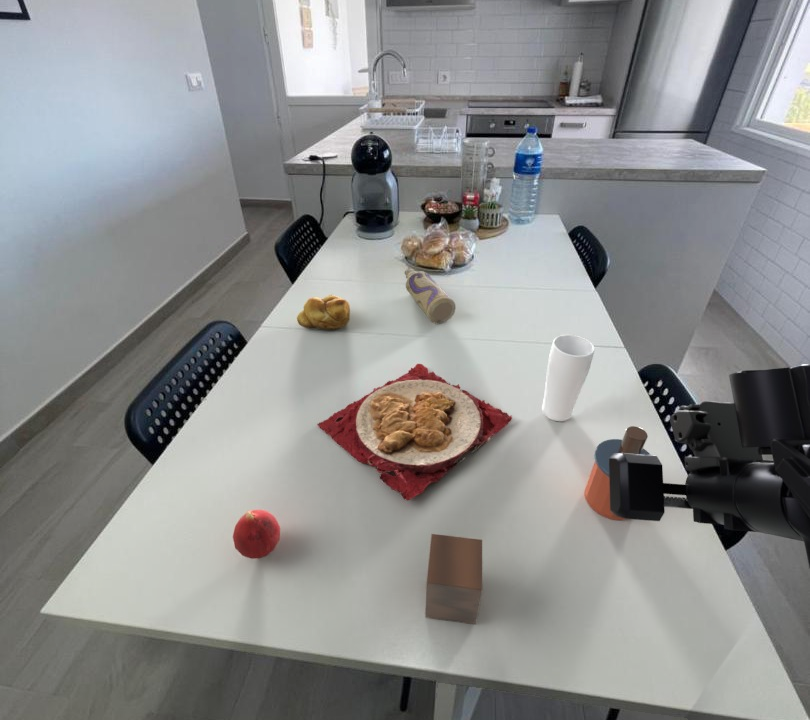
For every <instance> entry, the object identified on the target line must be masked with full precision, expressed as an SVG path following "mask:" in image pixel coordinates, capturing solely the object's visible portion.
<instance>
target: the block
mask: <svg viewBox="0 0 810 720" xmlns="http://www.w3.org/2000/svg"><path fill="white" fill-rule="evenodd" d="M429 545H430V546H429V556H428V565H427V574H426V587H425V589H426V590H425V612H424V615H425V616H424V618H427V619H434V620H441V621H448V622H455V623H463V624H470V625H477V620H478V615H479V611H480V603H481V598H482V594H483V539H479V538H471V537H462V536H453V535H445V534H437V533H431V534H430V544H429Z"/></svg>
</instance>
